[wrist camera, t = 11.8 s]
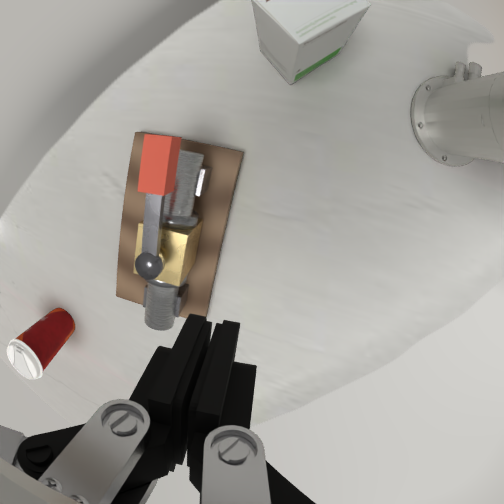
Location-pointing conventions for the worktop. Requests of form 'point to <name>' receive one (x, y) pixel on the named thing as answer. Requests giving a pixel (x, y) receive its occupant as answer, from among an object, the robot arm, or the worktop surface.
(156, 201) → the valve lever
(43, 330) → the paper cup
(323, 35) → the skincare box
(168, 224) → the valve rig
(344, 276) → the worktop surface
